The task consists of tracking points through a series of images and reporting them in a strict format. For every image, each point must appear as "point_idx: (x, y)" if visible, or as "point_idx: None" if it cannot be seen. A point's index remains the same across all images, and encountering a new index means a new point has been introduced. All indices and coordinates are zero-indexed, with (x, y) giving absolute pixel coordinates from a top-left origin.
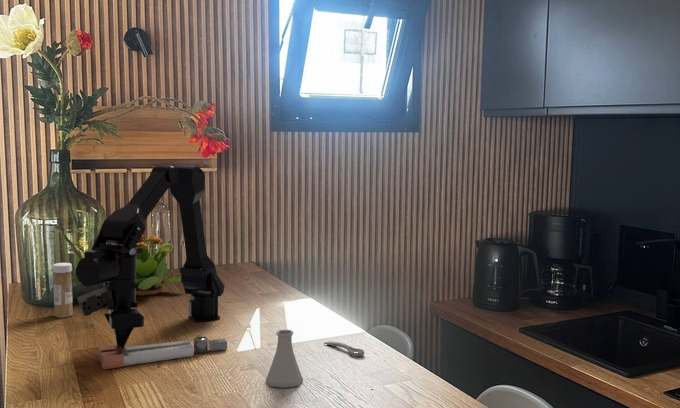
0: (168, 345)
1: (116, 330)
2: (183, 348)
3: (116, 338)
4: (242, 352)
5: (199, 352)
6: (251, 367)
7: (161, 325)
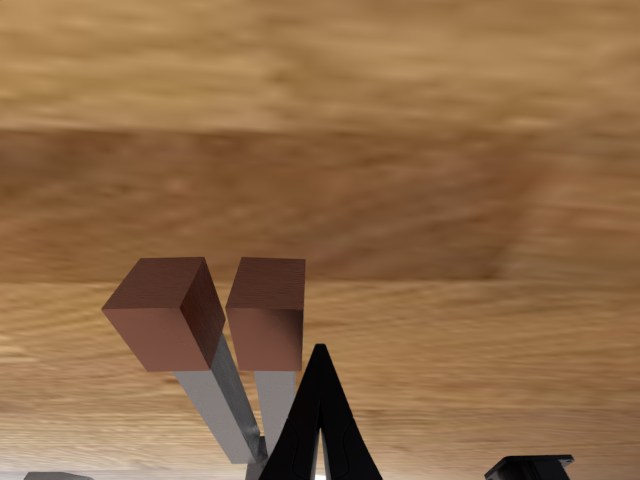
0: (266, 439)
1: (265, 467)
2: (225, 453)
3: (293, 401)
4: (243, 469)
5: None
6: (147, 467)
7: (557, 416)
